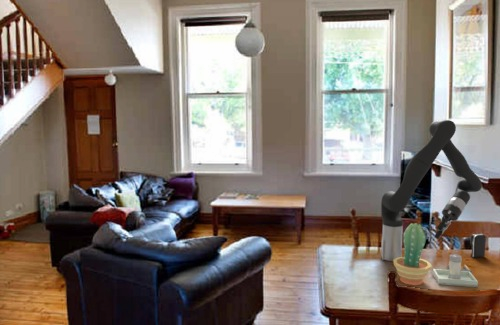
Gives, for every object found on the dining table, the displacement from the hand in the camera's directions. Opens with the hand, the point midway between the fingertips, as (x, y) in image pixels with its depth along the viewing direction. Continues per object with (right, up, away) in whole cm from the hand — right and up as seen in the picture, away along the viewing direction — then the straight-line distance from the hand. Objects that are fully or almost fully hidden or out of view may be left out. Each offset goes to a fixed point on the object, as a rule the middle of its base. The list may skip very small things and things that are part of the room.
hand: (437, 233), depth 190 cm
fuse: (0, -17, -16) cm, 23 cm away
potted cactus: (-18, -18, -15) cm, 30 cm away
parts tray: (0, -17, -16) cm, 23 cm away
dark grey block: (+26, -14, +14) cm, 33 cm away
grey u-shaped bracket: (+8, -16, -4) cm, 18 cm away
